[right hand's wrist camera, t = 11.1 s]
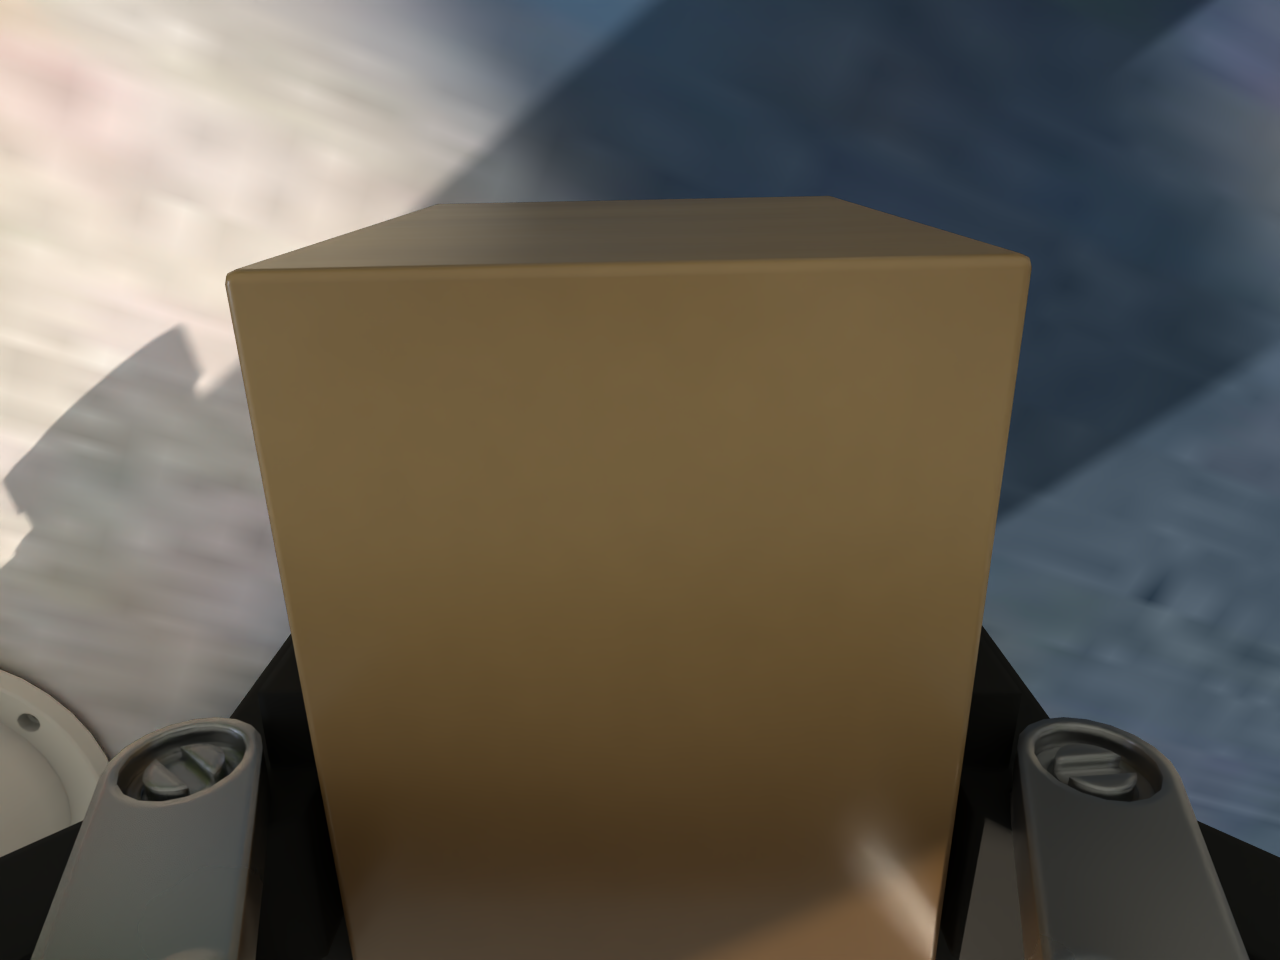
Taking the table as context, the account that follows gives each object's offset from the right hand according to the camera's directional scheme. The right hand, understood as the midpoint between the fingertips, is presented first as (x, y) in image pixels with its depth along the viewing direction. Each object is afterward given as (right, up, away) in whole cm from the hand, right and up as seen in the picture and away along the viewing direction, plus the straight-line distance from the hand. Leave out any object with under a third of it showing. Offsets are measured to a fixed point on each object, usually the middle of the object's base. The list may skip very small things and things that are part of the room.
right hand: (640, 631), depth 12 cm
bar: (+1, -28, +13) cm, 31 cm away
